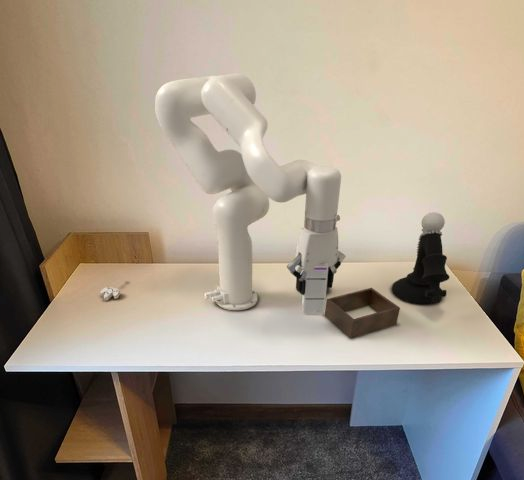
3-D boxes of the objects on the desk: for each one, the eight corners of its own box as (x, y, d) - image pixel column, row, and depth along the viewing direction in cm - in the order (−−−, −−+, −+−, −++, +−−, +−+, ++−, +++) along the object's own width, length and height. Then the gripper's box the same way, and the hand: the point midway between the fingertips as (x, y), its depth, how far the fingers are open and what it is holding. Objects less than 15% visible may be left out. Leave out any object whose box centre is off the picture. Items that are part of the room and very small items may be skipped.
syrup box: (324, 315, 119) (330, 265, 111) (302, 315, 119) (305, 264, 111) (322, 304, 124) (327, 255, 115) (300, 304, 124) (304, 254, 115)
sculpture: (433, 281, 147) (454, 205, 132) (459, 321, 128) (486, 237, 113) (386, 281, 147) (402, 204, 132) (405, 320, 128) (426, 236, 113)
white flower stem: (98, 300, 134) (96, 293, 133) (109, 282, 144) (107, 275, 142) (117, 301, 134) (115, 293, 133) (127, 283, 144) (126, 275, 142)
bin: (350, 338, 121) (353, 321, 117) (324, 315, 130) (326, 298, 126) (396, 324, 126) (400, 307, 123) (368, 303, 135) (371, 287, 132)
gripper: (341, 212, 113) (334, 276, 124) (280, 223, 107) (277, 289, 117) (359, 222, 108) (350, 288, 118) (296, 234, 101) (292, 303, 112)
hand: (314, 288), depth 118 cm, fingers closed on syrup box, 7 cm apart
